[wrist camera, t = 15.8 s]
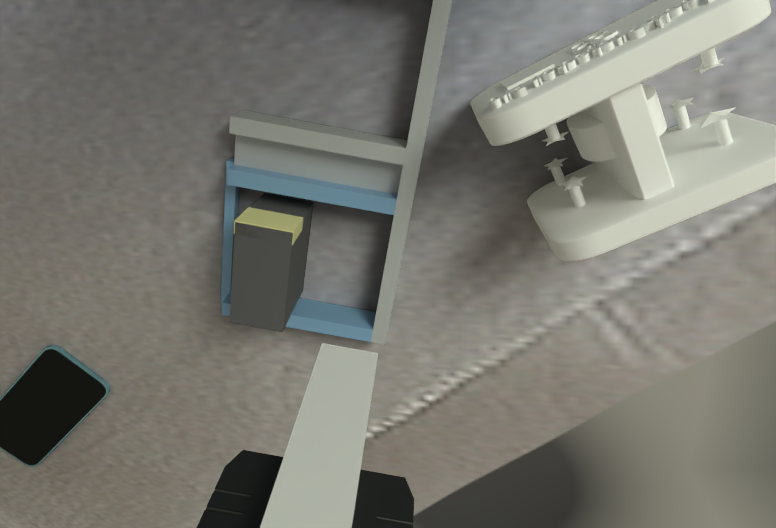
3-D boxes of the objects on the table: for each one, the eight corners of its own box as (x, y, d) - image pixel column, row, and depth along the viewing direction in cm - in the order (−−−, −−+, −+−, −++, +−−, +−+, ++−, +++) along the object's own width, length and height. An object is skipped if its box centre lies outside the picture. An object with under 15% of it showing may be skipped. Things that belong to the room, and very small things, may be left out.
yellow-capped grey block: (263, 191, 42) (234, 220, 36) (314, 201, 42) (293, 231, 36) (256, 281, 45) (228, 322, 39) (303, 290, 45) (283, 332, 39)
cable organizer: (519, 215, 41) (550, 279, 31) (463, 90, 38) (477, 113, 27) (716, 128, 38) (829, 166, 27) (675, -20, 34) (786, -42, 24)
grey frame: (240, -64, 35) (224, -72, 32) (455, -24, 35) (458, -29, 32) (224, 296, 46) (212, 313, 43) (387, 326, 46) (385, 344, 43)
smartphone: (112, 390, 51) (33, 470, 55) (118, 383, 52) (40, 463, 56) (48, 342, 49) (-28, 429, 53) (55, 336, 50) (-20, 422, 54)
